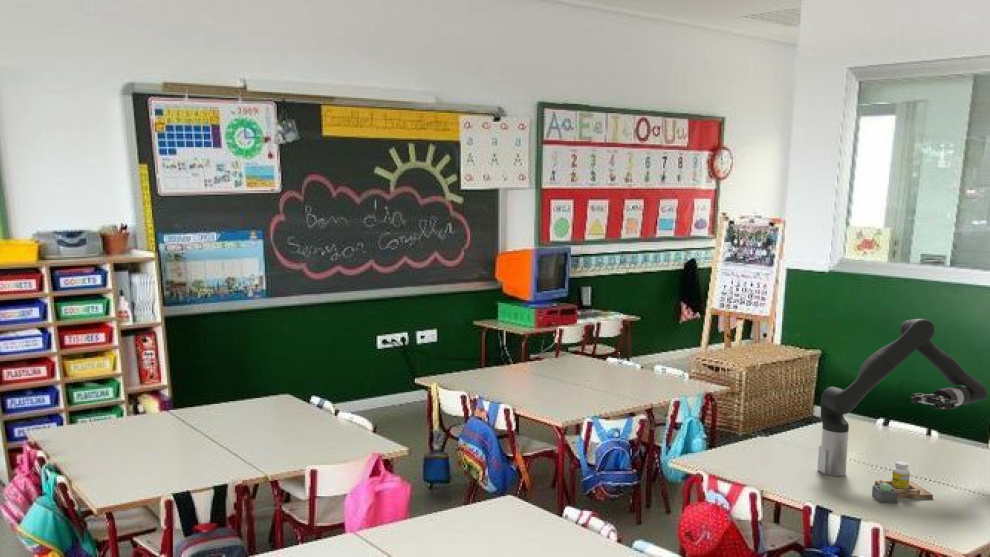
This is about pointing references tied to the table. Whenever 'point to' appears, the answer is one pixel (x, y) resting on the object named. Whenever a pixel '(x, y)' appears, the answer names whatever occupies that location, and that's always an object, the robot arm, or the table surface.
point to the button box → (885, 495)
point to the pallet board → (909, 490)
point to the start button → (885, 487)
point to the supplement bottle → (900, 476)
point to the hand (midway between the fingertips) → (923, 403)
